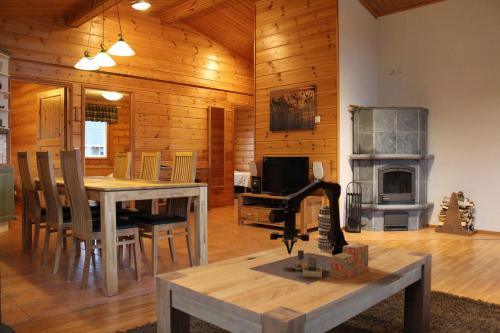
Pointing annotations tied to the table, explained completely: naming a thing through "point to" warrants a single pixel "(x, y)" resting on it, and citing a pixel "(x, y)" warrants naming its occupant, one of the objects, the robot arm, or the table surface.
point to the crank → (300, 258)
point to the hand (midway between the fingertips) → (289, 254)
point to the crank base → (299, 267)
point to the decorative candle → (324, 229)
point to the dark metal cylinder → (312, 263)
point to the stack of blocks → (350, 261)
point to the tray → (312, 272)
